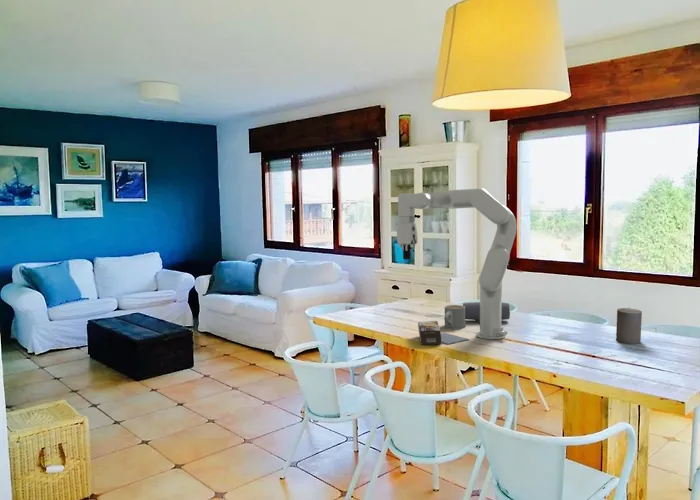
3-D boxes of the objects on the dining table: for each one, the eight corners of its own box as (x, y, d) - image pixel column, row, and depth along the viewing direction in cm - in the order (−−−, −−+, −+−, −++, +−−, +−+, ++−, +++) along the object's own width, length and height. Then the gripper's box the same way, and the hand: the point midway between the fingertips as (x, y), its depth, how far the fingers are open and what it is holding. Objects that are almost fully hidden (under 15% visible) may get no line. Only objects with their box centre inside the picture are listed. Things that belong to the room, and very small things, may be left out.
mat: (468, 340, 247) (468, 338, 247) (448, 344, 240) (448, 343, 240) (445, 333, 259) (445, 332, 259) (424, 338, 252) (424, 337, 252)
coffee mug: (454, 323, 281) (454, 304, 280) (469, 326, 273) (469, 306, 272) (435, 327, 273) (435, 307, 272) (450, 331, 265) (450, 310, 264)
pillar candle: (610, 339, 243) (611, 306, 242) (627, 337, 247) (628, 304, 245) (629, 345, 234) (630, 310, 233) (646, 342, 237) (647, 308, 236)
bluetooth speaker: (506, 319, 288) (506, 300, 288) (510, 323, 279) (510, 303, 278) (462, 319, 291) (462, 300, 290) (464, 323, 282) (464, 303, 281)
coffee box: (419, 334, 256) (420, 345, 240) (417, 321, 255) (419, 331, 239) (439, 333, 255) (441, 344, 239) (437, 320, 254) (440, 330, 238)
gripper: (423, 220, 255) (423, 259, 257) (402, 219, 268) (402, 257, 269) (410, 220, 251) (411, 260, 253) (390, 220, 263) (390, 258, 265)
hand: (406, 258), depth 261 cm, fingers closed
